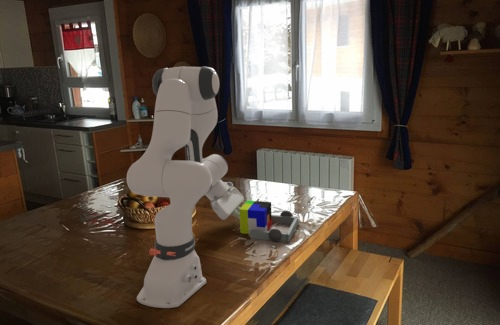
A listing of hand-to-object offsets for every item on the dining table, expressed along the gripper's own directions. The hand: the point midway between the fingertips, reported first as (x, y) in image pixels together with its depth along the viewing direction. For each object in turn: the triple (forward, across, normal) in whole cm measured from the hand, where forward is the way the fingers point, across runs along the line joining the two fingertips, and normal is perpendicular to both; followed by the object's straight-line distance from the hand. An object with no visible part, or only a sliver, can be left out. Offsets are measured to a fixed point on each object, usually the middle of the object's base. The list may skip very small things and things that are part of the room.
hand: (242, 217), depth 171 cm
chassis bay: (+12, 0, -6) cm, 13 cm away
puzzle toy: (+7, 0, -1) cm, 7 cm away
